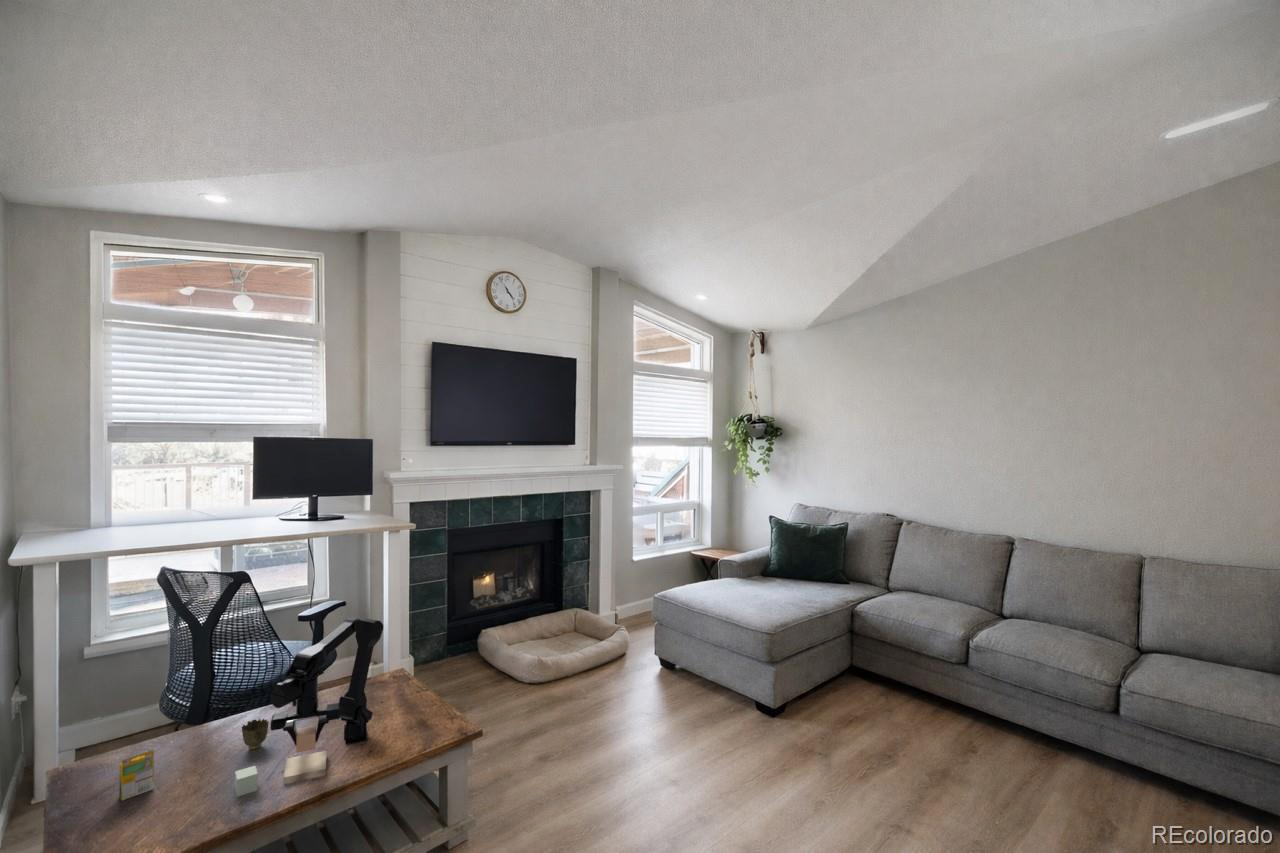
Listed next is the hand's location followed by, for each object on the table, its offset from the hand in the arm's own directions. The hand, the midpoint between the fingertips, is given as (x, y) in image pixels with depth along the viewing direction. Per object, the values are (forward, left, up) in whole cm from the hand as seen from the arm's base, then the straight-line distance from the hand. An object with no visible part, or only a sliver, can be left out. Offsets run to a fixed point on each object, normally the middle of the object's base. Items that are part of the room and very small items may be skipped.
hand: (306, 743), depth 185 cm
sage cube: (+15, +4, -8) cm, 18 cm away
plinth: (0, 0, -9) cm, 9 cm away
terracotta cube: (0, 0, -1) cm, 1 cm away
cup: (+16, -20, -8) cm, 27 cm away
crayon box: (+43, -6, -8) cm, 44 cm away
